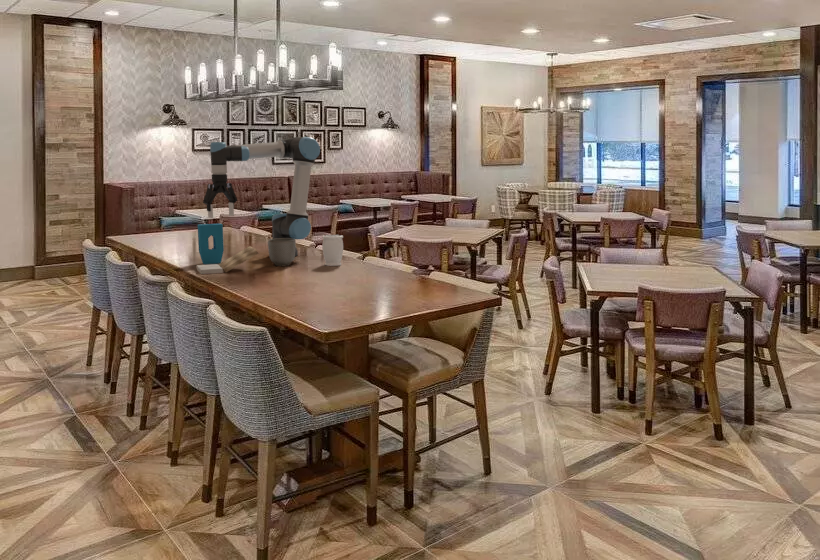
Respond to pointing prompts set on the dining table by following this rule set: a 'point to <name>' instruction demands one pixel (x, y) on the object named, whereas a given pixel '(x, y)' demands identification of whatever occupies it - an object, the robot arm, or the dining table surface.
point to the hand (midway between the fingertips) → (221, 216)
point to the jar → (332, 249)
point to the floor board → (209, 269)
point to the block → (203, 234)
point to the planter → (282, 251)
